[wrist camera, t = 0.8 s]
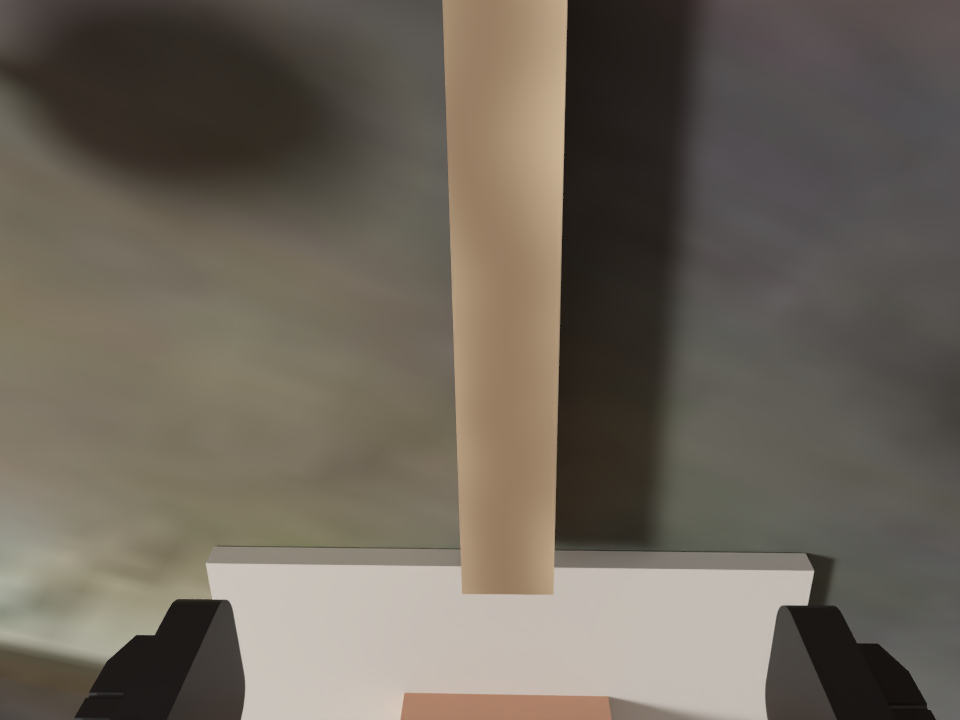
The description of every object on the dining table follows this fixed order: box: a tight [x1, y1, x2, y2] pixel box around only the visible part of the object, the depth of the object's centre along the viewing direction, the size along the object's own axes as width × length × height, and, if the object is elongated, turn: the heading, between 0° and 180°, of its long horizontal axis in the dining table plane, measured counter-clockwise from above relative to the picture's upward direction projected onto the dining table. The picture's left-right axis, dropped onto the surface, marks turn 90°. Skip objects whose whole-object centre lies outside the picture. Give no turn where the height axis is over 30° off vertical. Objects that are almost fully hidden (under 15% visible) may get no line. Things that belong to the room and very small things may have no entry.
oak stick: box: [443, 0, 568, 595], centre depth 26 cm, size 3×20×4 cm, turn 1°
